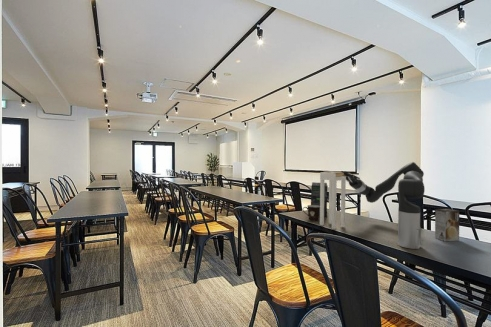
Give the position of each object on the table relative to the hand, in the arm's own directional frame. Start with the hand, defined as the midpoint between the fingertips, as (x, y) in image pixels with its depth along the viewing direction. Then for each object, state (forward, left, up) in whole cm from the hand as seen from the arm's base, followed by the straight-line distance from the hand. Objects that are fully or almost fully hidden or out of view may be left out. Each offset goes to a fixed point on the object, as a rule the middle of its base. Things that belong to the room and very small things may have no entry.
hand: (342, 172), depth 167 cm
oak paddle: (+1, +3, -3) cm, 4 cm away
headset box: (+27, -18, -35) cm, 48 cm away
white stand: (+3, +9, -35) cm, 36 cm away
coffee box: (-53, -11, -35) cm, 65 cm away
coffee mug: (+21, +3, -35) cm, 41 cm away
